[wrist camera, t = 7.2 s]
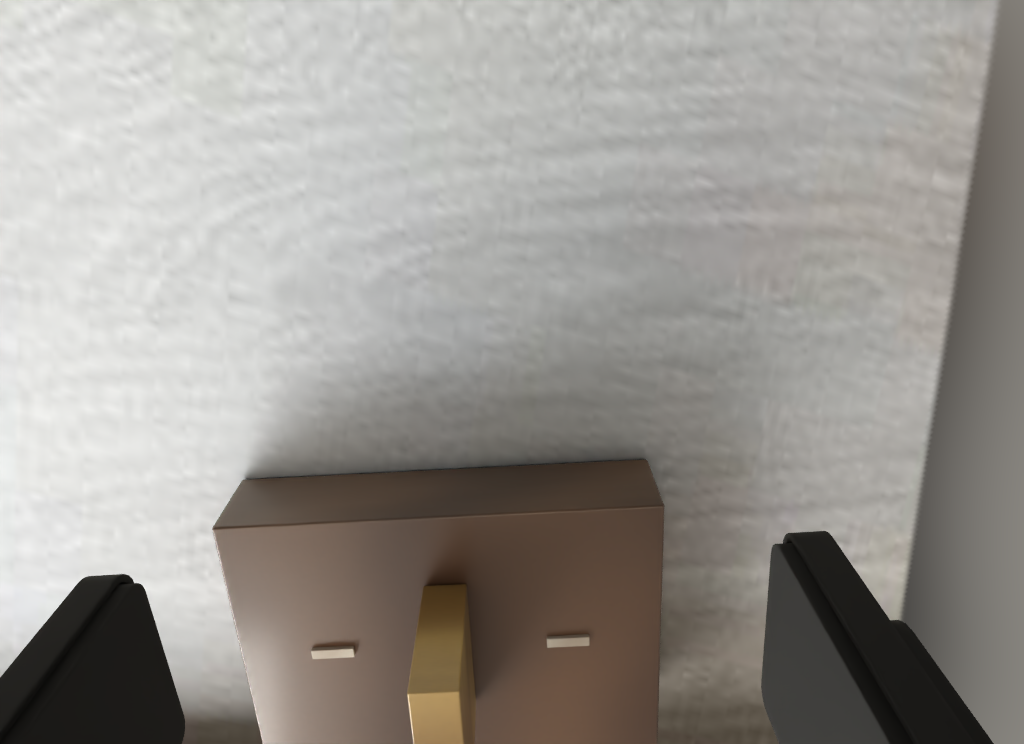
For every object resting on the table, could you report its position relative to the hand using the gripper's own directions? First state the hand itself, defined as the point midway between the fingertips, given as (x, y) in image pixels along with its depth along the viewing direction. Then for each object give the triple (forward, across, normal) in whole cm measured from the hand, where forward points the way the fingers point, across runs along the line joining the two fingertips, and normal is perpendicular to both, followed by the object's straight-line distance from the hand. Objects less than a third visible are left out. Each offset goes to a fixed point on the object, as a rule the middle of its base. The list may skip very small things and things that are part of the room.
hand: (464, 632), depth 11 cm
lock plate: (+14, +2, +10) cm, 17 cm away
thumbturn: (+11, +2, +10) cm, 15 cm away
